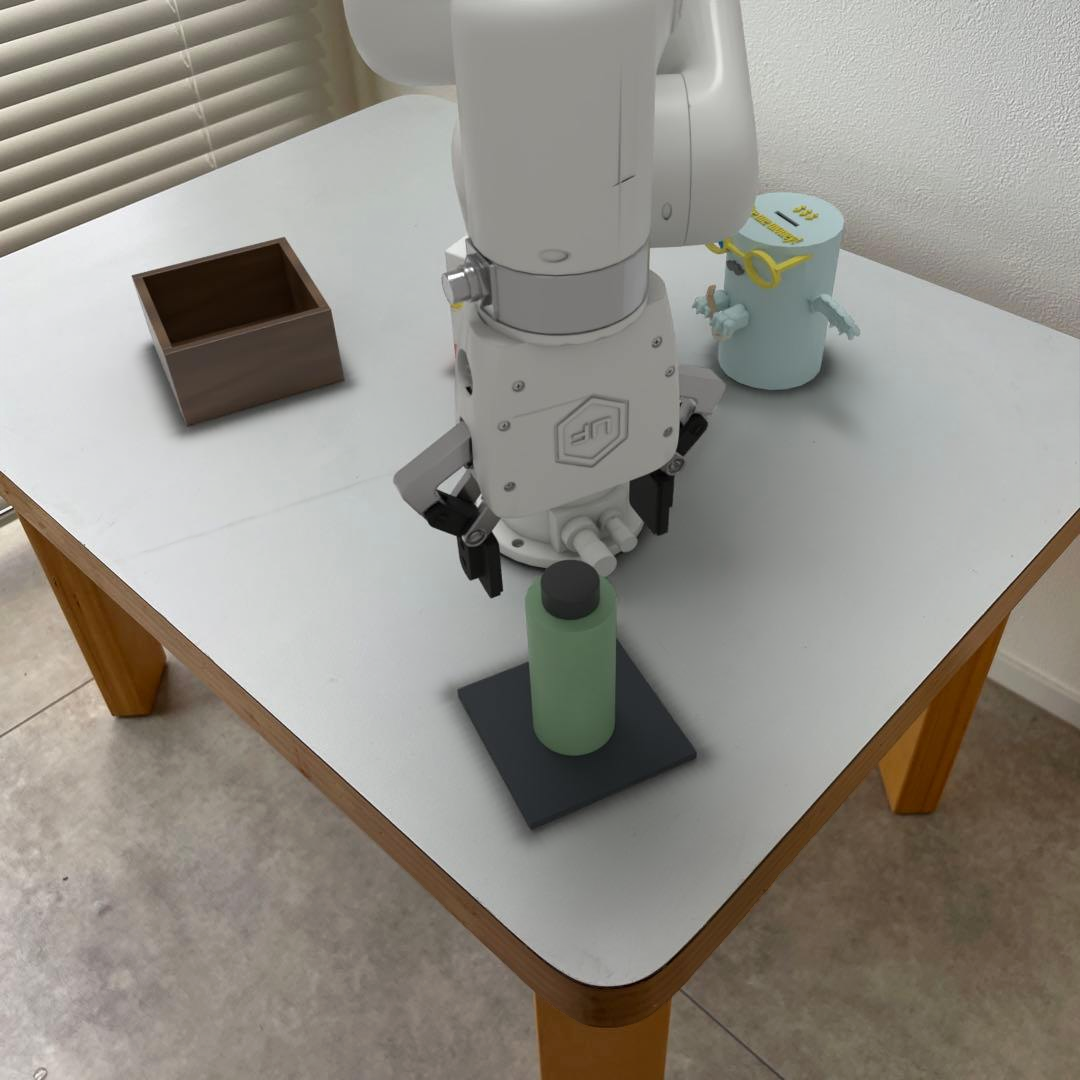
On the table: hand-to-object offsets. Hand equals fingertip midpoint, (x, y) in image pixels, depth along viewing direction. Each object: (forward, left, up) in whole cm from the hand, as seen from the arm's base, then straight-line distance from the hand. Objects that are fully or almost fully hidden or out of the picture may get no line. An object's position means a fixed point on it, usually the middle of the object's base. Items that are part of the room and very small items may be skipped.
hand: (568, 548), depth 60 cm
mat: (-1, 0, -15) cm, 15 cm away
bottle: (-1, 0, -14) cm, 14 cm away
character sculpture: (+26, -31, -15) cm, 43 cm away
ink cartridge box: (+35, -12, -15) cm, 40 cm away
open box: (+47, +8, -15) cm, 50 cm away
